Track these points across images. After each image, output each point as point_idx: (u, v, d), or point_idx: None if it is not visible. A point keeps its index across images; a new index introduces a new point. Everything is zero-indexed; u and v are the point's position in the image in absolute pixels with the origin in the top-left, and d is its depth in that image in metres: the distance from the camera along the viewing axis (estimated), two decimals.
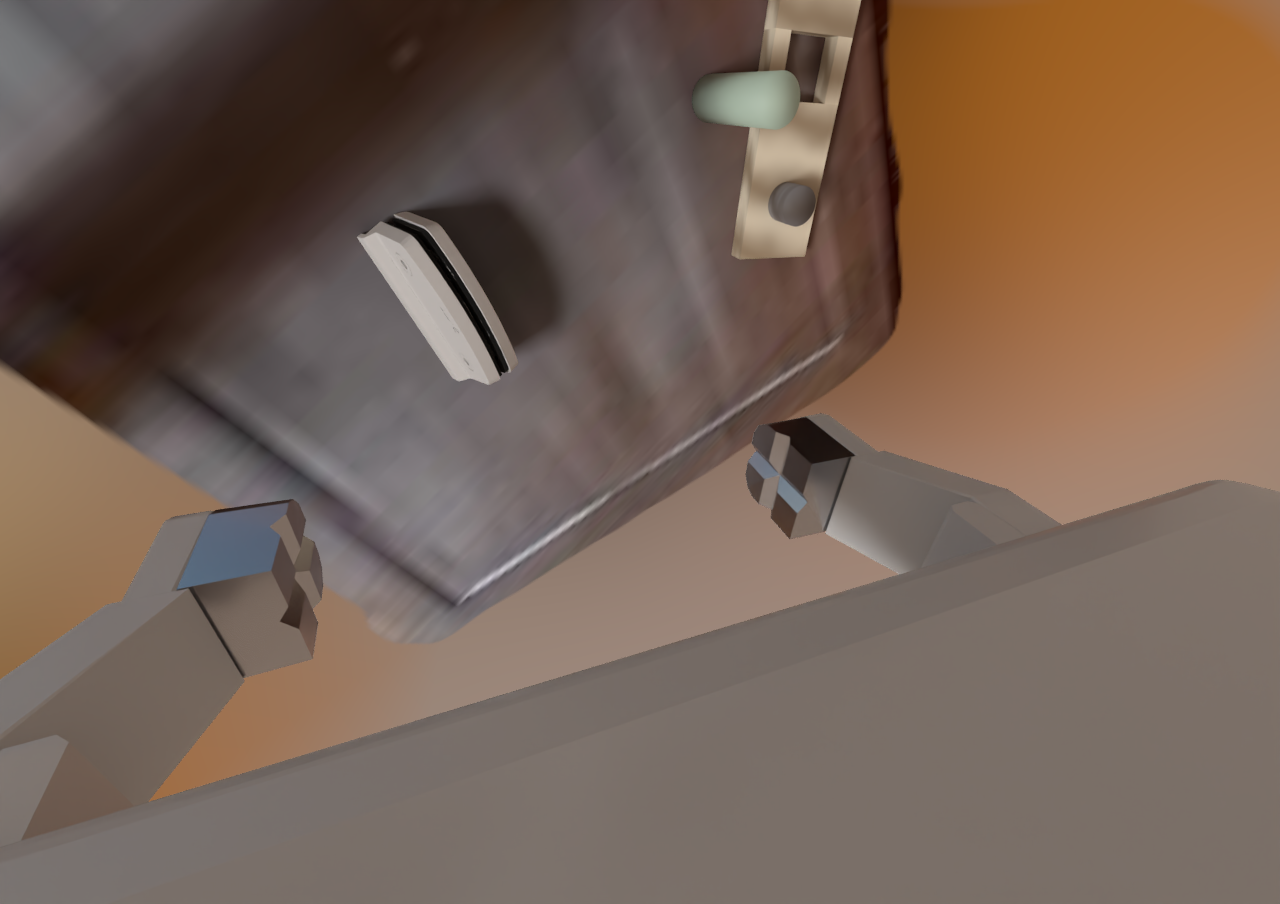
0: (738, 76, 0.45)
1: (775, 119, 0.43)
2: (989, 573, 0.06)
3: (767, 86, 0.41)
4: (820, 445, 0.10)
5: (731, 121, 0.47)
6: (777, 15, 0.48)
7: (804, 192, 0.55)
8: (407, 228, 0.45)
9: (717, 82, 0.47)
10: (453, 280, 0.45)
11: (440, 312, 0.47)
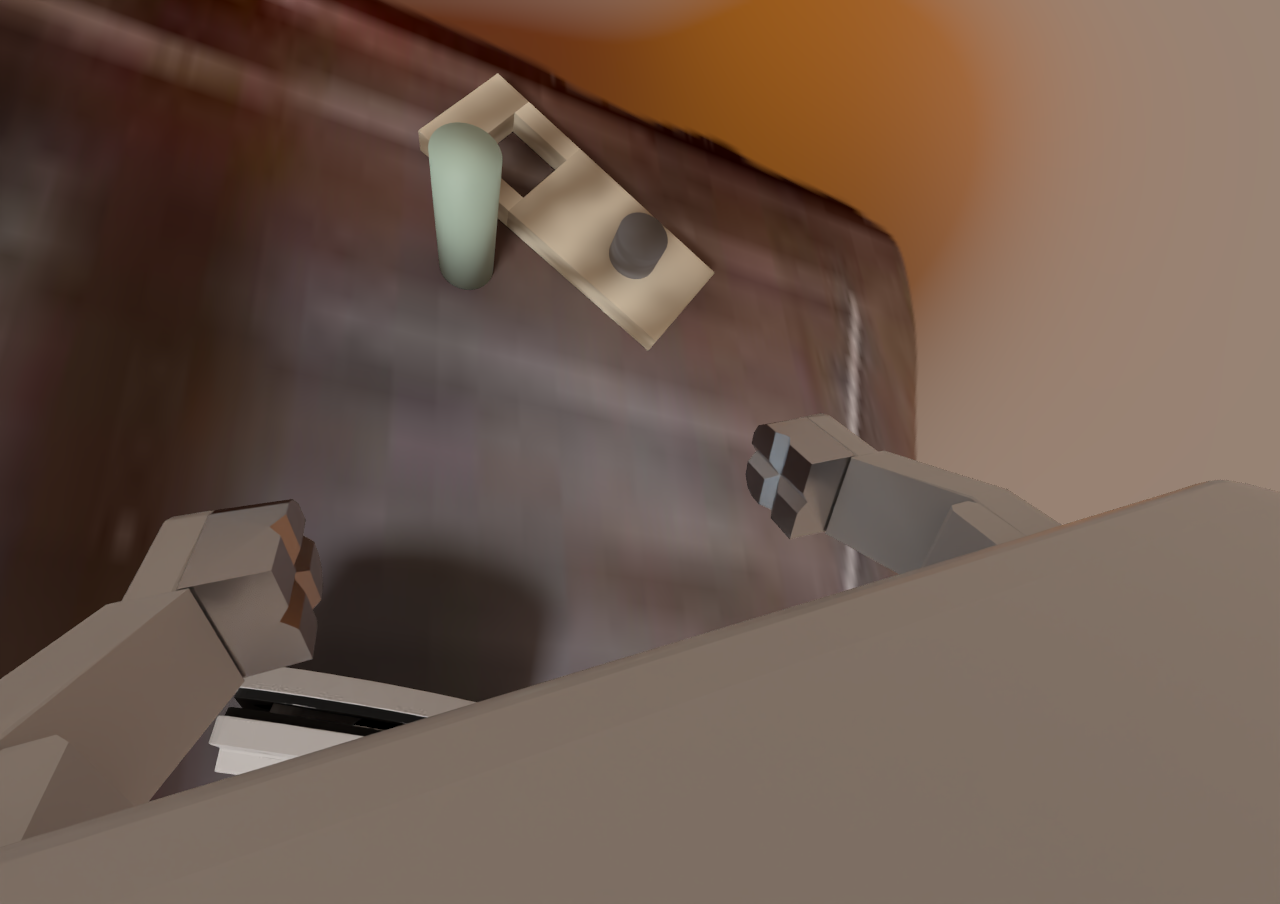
0: None
1: (483, 169, 0.30)
2: (989, 573, 0.06)
3: (437, 155, 0.29)
4: (820, 445, 0.10)
5: (475, 240, 0.34)
6: None
7: (632, 221, 0.40)
8: (244, 704, 0.28)
9: None
10: (322, 711, 0.26)
11: None
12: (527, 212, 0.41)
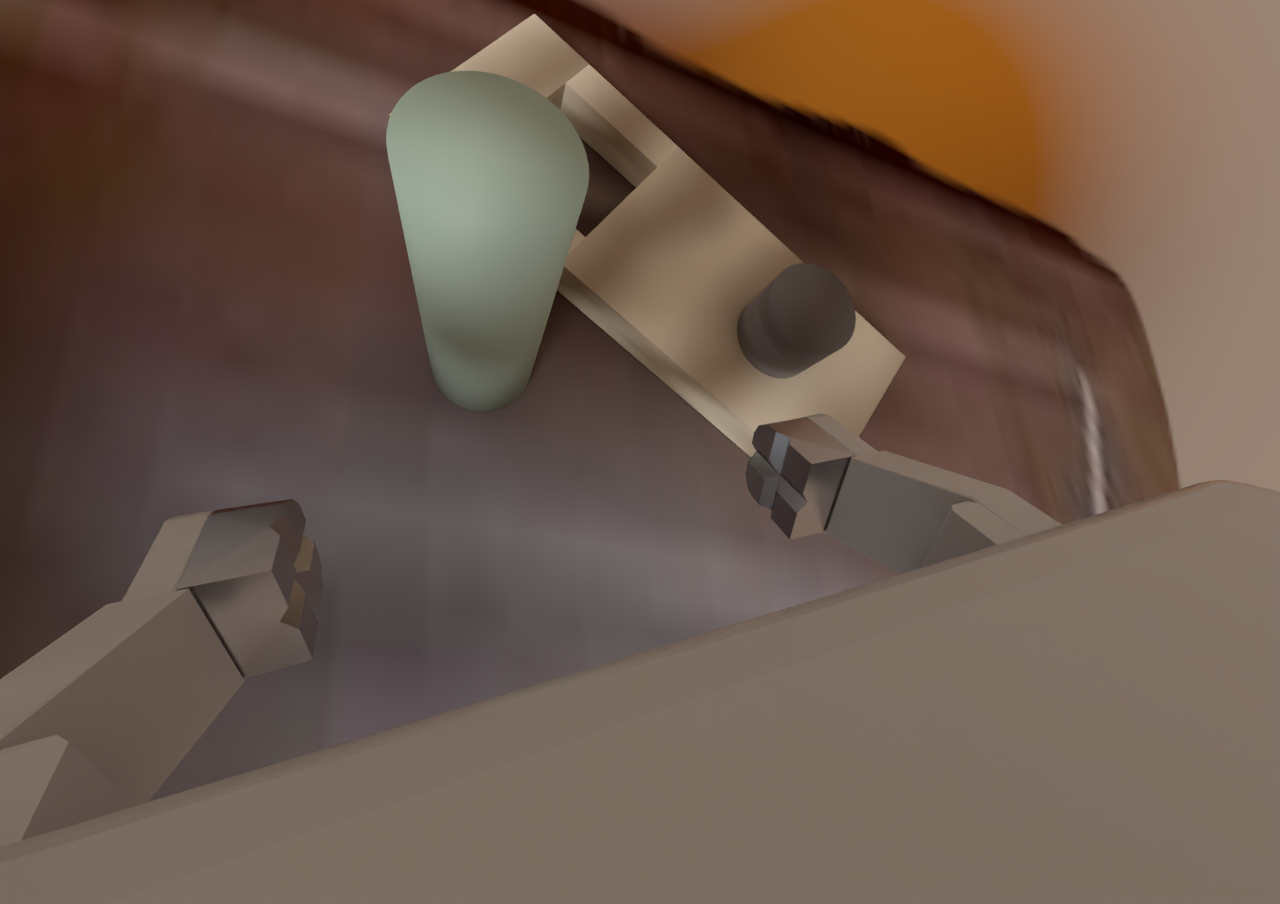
0: None
1: (540, 199, 0.11)
2: (989, 573, 0.06)
3: (414, 160, 0.10)
4: (820, 445, 0.10)
5: (507, 347, 0.16)
6: None
7: (793, 280, 0.21)
8: None
9: None
10: None
11: None
12: (593, 264, 0.22)
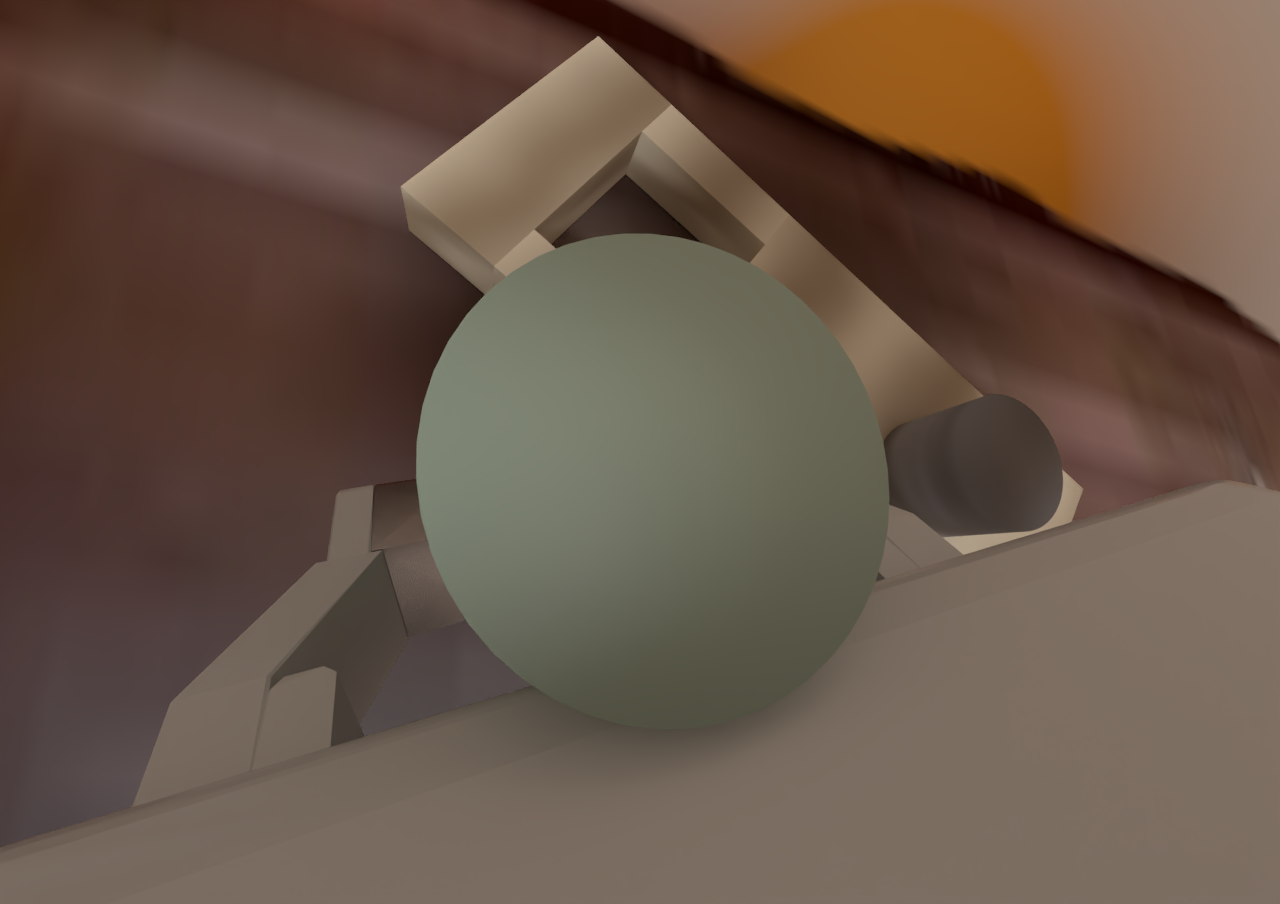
0: None
1: (798, 562, 0.04)
2: (989, 573, 0.06)
3: (493, 517, 0.04)
4: None
5: None
6: (469, 245, 0.15)
7: (980, 423, 0.15)
8: None
9: None
10: None
11: None
12: None
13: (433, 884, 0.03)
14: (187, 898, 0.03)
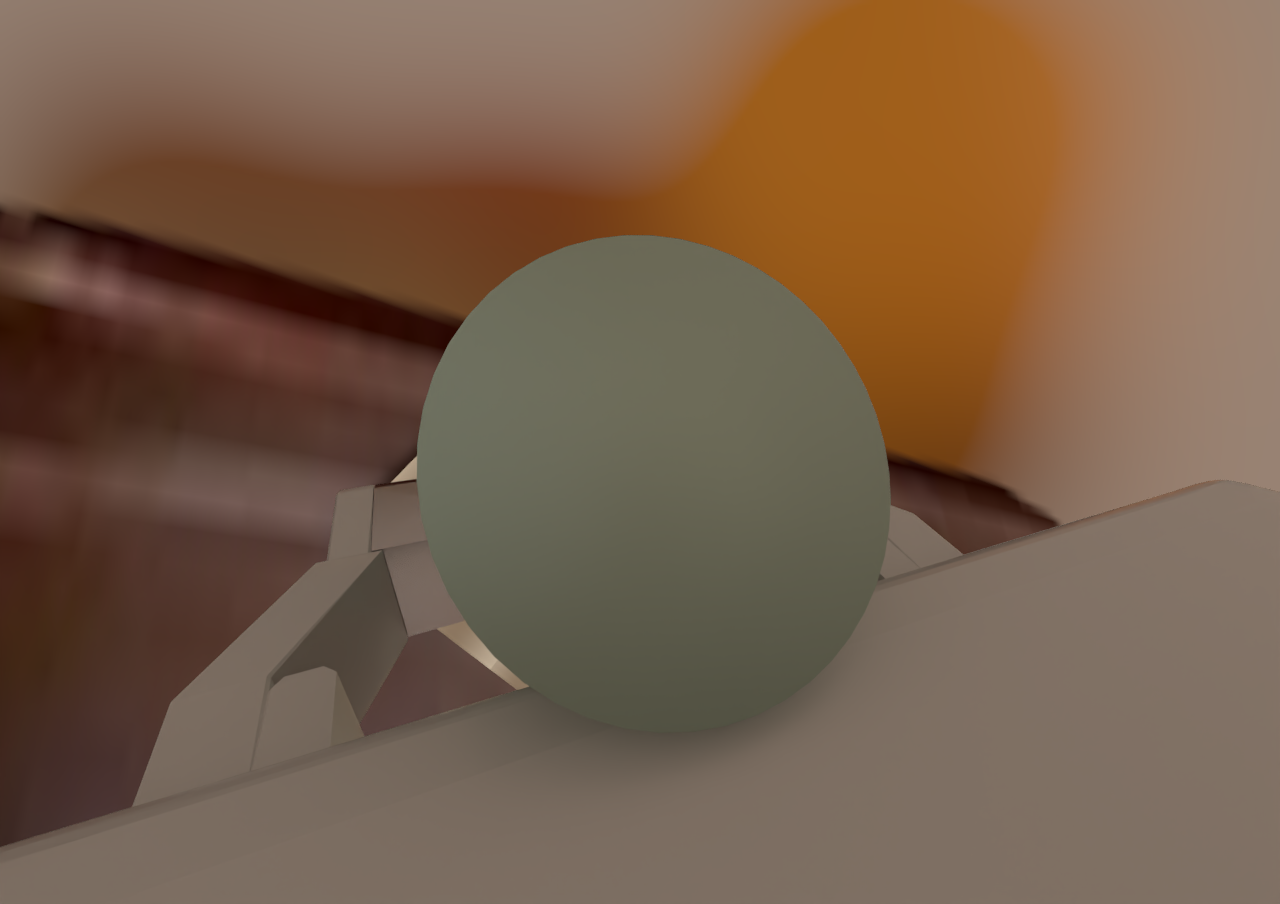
0: None
1: (799, 564, 0.04)
2: (989, 573, 0.06)
3: (494, 520, 0.04)
4: None
5: None
6: None
7: None
8: None
9: None
10: None
11: None
12: None
13: (433, 884, 0.03)
14: (187, 898, 0.03)
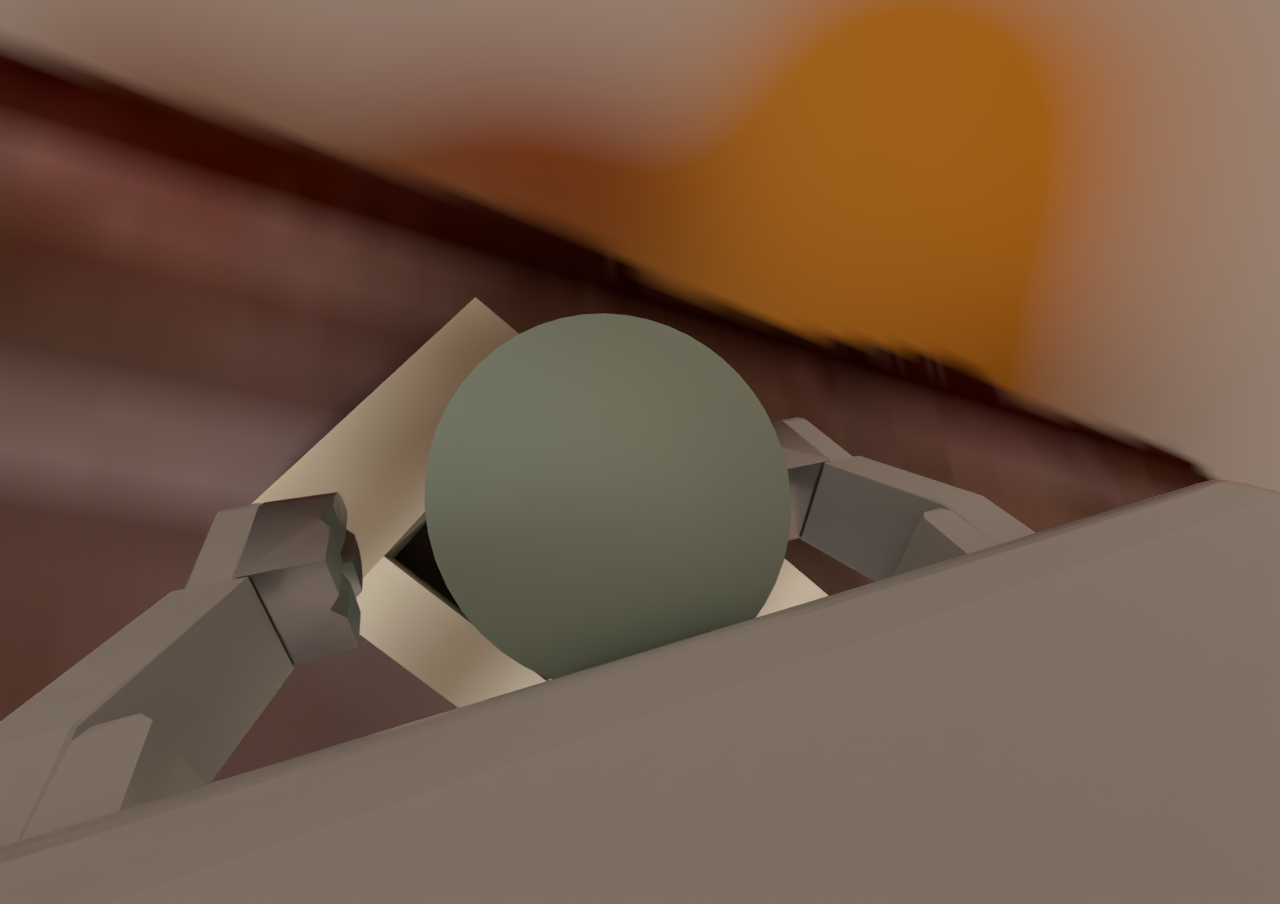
0: None
1: (714, 566, 0.06)
2: (989, 573, 0.06)
3: (480, 534, 0.05)
4: (794, 450, 0.09)
5: None
6: None
7: None
8: None
9: None
10: None
11: None
12: None
13: (433, 884, 0.03)
14: (187, 898, 0.03)
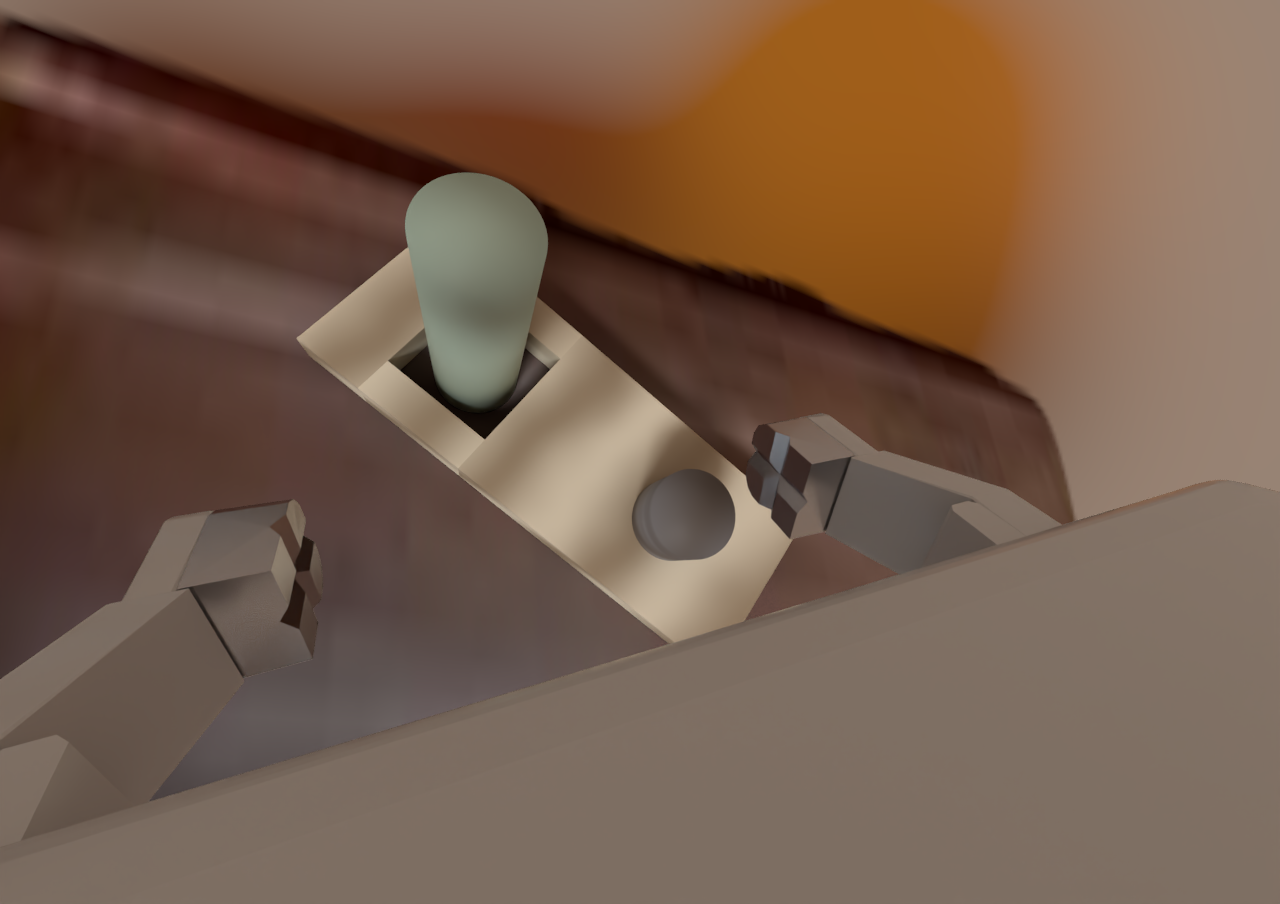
0: None
1: (512, 263, 0.15)
2: (989, 573, 0.06)
3: (424, 239, 0.15)
4: (820, 445, 0.10)
5: (493, 363, 0.20)
6: (341, 374, 0.23)
7: (674, 489, 0.23)
8: None
9: None
10: None
11: None
12: (491, 466, 0.24)
13: (433, 883, 0.03)
14: (187, 897, 0.03)
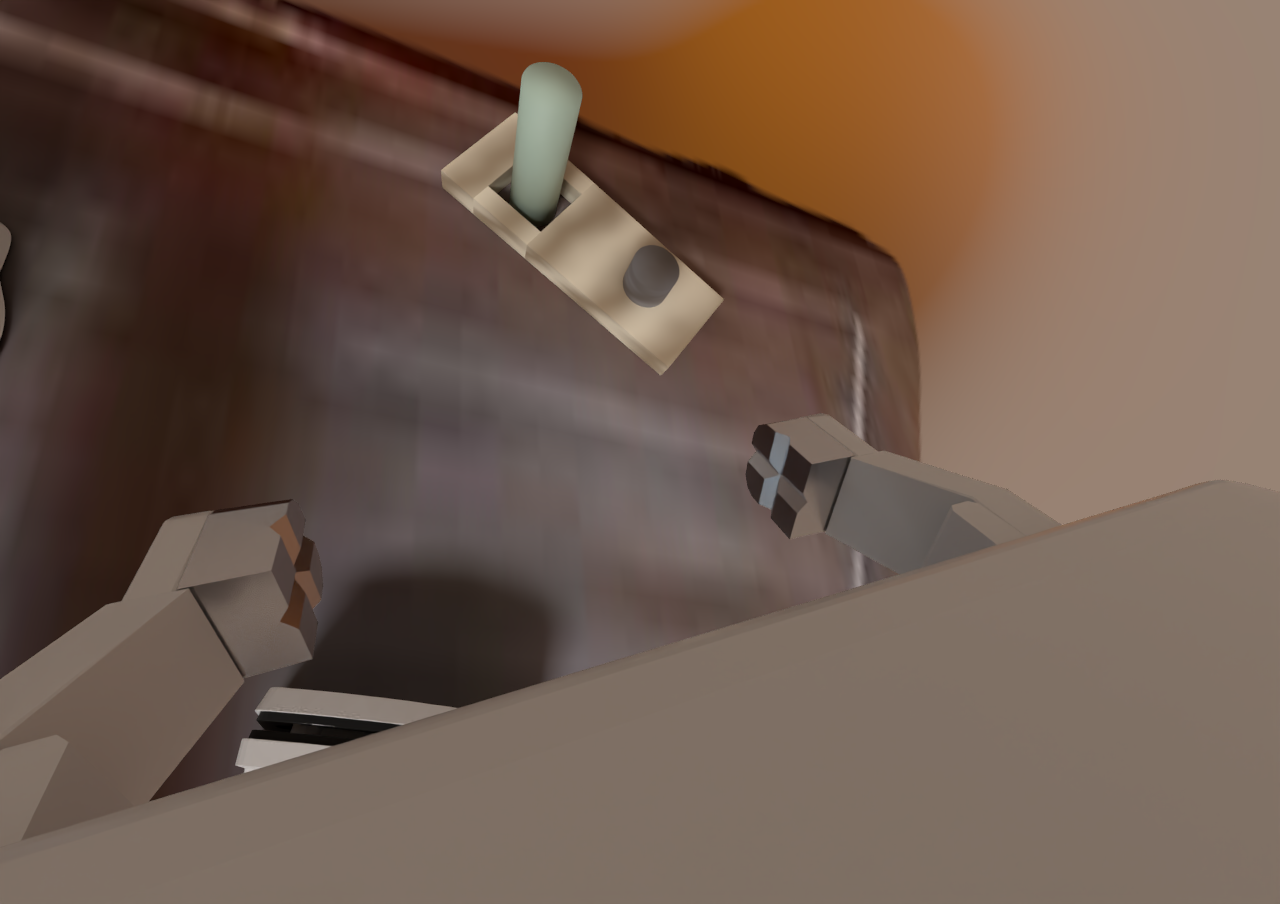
0: None
1: (566, 102, 0.35)
2: (989, 573, 0.06)
3: (529, 88, 0.34)
4: (820, 445, 0.10)
5: (550, 172, 0.39)
6: (464, 190, 0.42)
7: (645, 253, 0.42)
8: (265, 726, 0.30)
9: (513, 173, 0.41)
10: (341, 728, 0.28)
11: None
12: (544, 245, 0.43)
13: (433, 884, 0.03)
14: (187, 898, 0.03)
